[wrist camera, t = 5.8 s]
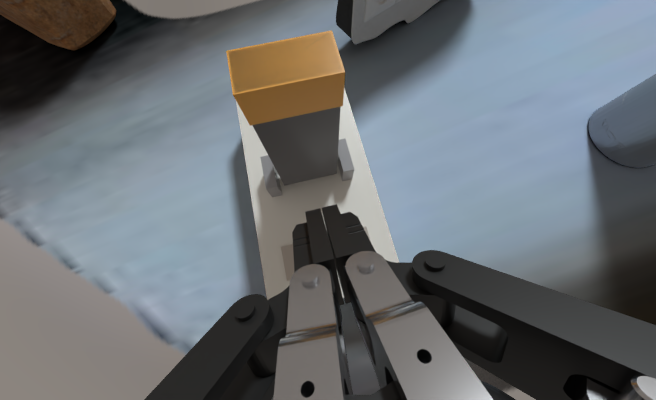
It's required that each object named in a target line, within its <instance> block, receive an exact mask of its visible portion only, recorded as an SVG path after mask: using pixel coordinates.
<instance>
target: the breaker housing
mask: <svg viewBox="0 0 656 400" xmlns="http://www.w3.org/2000/svg"><path fill="white" fill-rule="evenodd" d="M236 103H237V101H236ZM237 110H238V116H239V122H240V129H241V135H242V142H243V148H244V155H245V161H246V167H247V174H248V180H249V187H250V193H251V200H252V206H253V212H254V219H255V225H256V232H257V238H258V244H259V251H260V257H261V264H262V270H263V277H264V283H265V289H266V296H267V300H268V299H270V298H272V297H274V296H276V295H278V294H279V293H281V292H282V291H284V290H285V289H286V288H287V287H288V286H289V285H290V279H291V277H292V275H293V274H294V255H293V238H292V232H293V230H294V228H295V226H296V225H298V224H302V223H306V222H307V220H306V214H305V212H306V211H310V210H315V209H319V208H320V209H321V213H322V216H323V212H322V208H323V207H327V206H331V205H335V204H337V206H338V209H339V211H340V213H341V214H343V213H347V212H351V213H353V214H354V215H356V216H358V218H359V220H360V222H361V225H362V226H363V228H364V230H365V232H366V234H367V236H368V238H369V240H370V242H371V244H372V245H373V247H374V249H375V251H376V253H378V254H380V255H381V256H383V258H384V259H385V260H387V261H390V262H396V263H399V260H398V257H397V254H396V251H395V247H394V244H393V241H392V238H391V235H390V232H389V228H388V225H387V222H386V219H385V216H384V212H383V209H382V206H381V203H380V200H379V196H378V193H377V190H376V187H375V184H374V180H373V177H372V174H371V171H370V168H369V164H368V161H367V158H366V155H365V152H364V149H363V145H362V142H361V139H360V136H359V133H358V129H357V126H356V123H355V120H354V117H353V113H352V110H351V107H350V104H349V101H348V97H347V94H346V91H345V88H344V97H343V106H341V108H340V125H339V143H338V160H337V174H334V175H329V176H325V177H320V178H316V179H312V180H307V181H303V182H298V183H294V184H290V185H285V186H284V184H283V182H282V180H281V178H280V176H279V175H278V173H277V171H276V169H275V167H274V165H273V163H272V161H271V159H270V158H269V156H268V154H267V152H266V150H265V148H264V146H263V144H262V143H261V141H260V139H259V137H258V135H257V133H256V131H255V129H254V127H253V126H252V125H251V126H250V125H249V123H248V121H247V119H246V118H245V116H244V114H243V112H242V110H241V108H240V107H239V105H238V103H237ZM323 220H324V217H323ZM324 224H325V221H324ZM325 227H326V226H325ZM326 231H327V230H326ZM336 270H337V269H336ZM337 274H338V273H337ZM338 279H339V277H338ZM339 283H340V280H339ZM340 288H341V284H340ZM341 292H342V297H343V298H344V295H343V291H342V288H341Z"/></svg>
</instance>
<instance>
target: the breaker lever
mask: <svg viewBox="0 0 656 400" xmlns="http://www.w3.org/2000/svg"><path fill="white" fill-rule="evenodd" d="M226 52H227V58H228V65H229V71H230V78H231V85H232V91H233V96H234V97H235V99H236V101H237V103H238V105H239V107H240V108H241V110H242V112H243V114H244V116H245V118H246V119H247V121H248V123H249V125H250V126H251V125H252V126H253V127H254V129H255V131H256V133H257V135H258V137H259V139H260V141H261V143H262V144H263V146H264V148H265V150H266V152H267V154H268V156H269V158H270V159H271V161H272V163H273V165H274V167H275V169H276V171H277V173H278V175H279V176H280V178H281V180H282V182H283V184H284V186H285V185H290V184H294V183H298V182H303V181H307V180H312V179H316V178H320V177H325V176H329V175H334V174H337V160H338V143H339V125H340V108H341V106H343V97H344V83H345V70H344V67H343V64H342V60H341V57H340V54H339V51H338V48H337V45H336V42H335V39H334V36H333V32H332V31H327V32H321V33H316V34H311V35H306V36H301V37H296V38H290V39H285V40H280V41H275V42H270V43H265V44H259V45H254V46H249V47H244V48H239V49H234V50H228V51H226Z"/></svg>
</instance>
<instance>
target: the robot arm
mask: <svg viewBox="0 0 656 400" xmlns="http://www.w3.org/2000/svg"><path fill="white" fill-rule="evenodd" d="M589 133H590V136H591V138H592V140H593V142H594V144H595V145H596V146H597V148H598V149H599V150H600V151H601V152H602V153H603V154H604V155H605V156H607V157H608V158H610V159H611V160H613V161H615V162H617V163H619V164H622V165H625V166H628V167H635V168H643V167H648V166H652V165H655V164H656V74H655V75H653V76H651V77H650V78H648V79H647V80H645V81H643V82H642V83H640V84H638V85H637V86H635V87H633V88H632V89H630V90H628V91H627V92H625V93H623V94H622V95H620V96H619V97H617V98H615V99H614V100H612V101H610V102H609V103H607V104H606V105H604V106H602V107H601V108H599V109H598V110H596V111H595V112H594V113H593V114H592V116H591V118H590V121H589ZM322 212H323V216H322V213H321V209H320V208H319V209H315V210H310V211H306V212H305V214H306V220H307V222H306V223H302V224H298V225H296V226H295V228H294V230H293V232H292V238H293V255H294V274H293V275H292V277H291V279H290V285H289V286H288V287H287V288H286V289H285V290H284V291H282V292H281V293H279V294H278V295H276V296H274V297H272V298H270V299H268V300H267V299H266V298H265V297H264V296H262V295H258V294H254V295H248V296H246V297H243V298H241V299H240V300H238V301H237V302H235V303H234V304H233V305H232V306H231V307H230V308H229V309H228V310H227V312H226V313H225V314H224V315H223V316H222V317H221V318H220V319H219V320H218V321H217V322H216V323H215V324H214V326H213V327H212V328H211V329H210V330H209V331H208V332H207V333H206V334H205V335H204V336H203V337H202V338H201V339H200V341H199V342H198V343H197V344H196V345H195V346H194V347H193V348H192V349H191V350H190V351H189V352H188V353H187V355H186V356H185V357H184V358H183V359H182V360H181V361H180V362H179V363H178V364H177V365H176V366H175V368H174V369H173V370H172V371H171V372H170V373H169V374H168V375H167V376H166V377H165V378H164V379H163V380H162V381H161V383H160V384H159V385H158V386H157V387H156V388H155V389H154V390H153V391H152V392H151V393H150V394H149V395H148V396H147V398H146V399H145V400H271V399H272V397H273V395H274V398H273V400H515V399H514V398H512V397H511V396H509V395H508V394H506V393H504V392H503V391H501V390H499V389H497V388H496V387H494V386H492V385H490V384H488V383H485V382H483V381H480V380H479V379H478V377H477V376H476V375H475V373H474V372H473V370H472V369H471V368H470V366H469V365H468V363H467V362H466V361H465V359H464V358H466V359H468V360H469V361H471V362H473V363H475V364H476V365H478V366H480V367H481V368H483V369H485V370H487V371H488V372H490V373H492V374H493V375H495V376H497V377H499V378H500V379H502V380H504V381H505V382H507V383H509V384H511V385H512V386H514V387H516V388H517V389H519V390H521V391H522V392H524V393H526V394H528V395H530V396H531V397H533V398H534V399H536V400H656V325H653V324H651V323H648V322H645V321H642V320H639V319H636V318H633V317H630V316H627V315H624V314H621V313H619V312H616V311H613V310H610V309H607V308H604V307H601V306H598V305H595V304H592V303H590V302H587V301H584V300H581V299H578V298H575V297H572V296H569V295H566V294H563V293H560V292H558V291H555V290H552V289H549V288H546V287H543V286H540V285H537V284H534V283H531V282H528V281H526V280H523V279H520V278H517V277H514V276H511V275H508V274H505V273H502V272H499V271H497V270H494V269H491V268H488V267H485V266H482V265H479V264H476V263H473V262H470V261H467V260H465V259H462V258H459V257H456V256H453V255H450V254H447V253H444V252H441V251H435V250H428V251H423V252H421V253H419V254H417V255H416V256H415V257H414V259H413V261H412V263H396V262H390V261H387V260H385V259H384V258H383V256H381V255H380V254H378V253H376V251H375V249H374V247H373V245H372V244H371V242H370V240H369V238H368V236H367V234H366V232H365V230H364V228H363V226H362V225H361V222H360V220H359V218H358V216H356V215H354V214H353V213H351V212H347V213H343V214H341V213H340V211H339V209H338V206H337V204H335V205H331V206H327V207H323V208H322ZM323 217H324V220H323ZM324 221H325V224H324ZM325 226H326V227H325ZM326 230H327V231H326ZM336 269H337V270H336ZM337 273H338V274H337ZM338 277H339V279H338ZM339 280H340V283H339ZM340 284H341V288H342V291H343V295H344V299H345V303H349V302H351V303H352V306H353V310H354V314H355V319H356V323H357V325H358V328H359V331H360V333H361V336H362V338H363V341H364V344H365V346H366V349H367V351H368V354H369V357H370V359H371V362H372V365H373V367H374V370H375V373H376V376H377V379H378V383H379V386H380V390H379V391H377V392H376V393H374V394H372V395H353V391H352V386H351V380H350V374H349V367H348V360H347V354H346V347H345V340H344V334H343V327H342V314H341V310H340V306H339V305H342V304H344V301H343V297H342V292H341V288H340ZM463 357H464V358H463Z"/></svg>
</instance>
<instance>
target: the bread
mask: <svg viewBox="0 0 656 400" xmlns="http://www.w3.org/2000/svg"><path fill="white" fill-rule="evenodd" d="M0 15H2V16H3V17H5V18H7V19H8V20H10V21H12V22H14V23H15V24H17V25H19V26H21V27H23V28H24V29H26V30H28V31H30V32H31V33H33V34H35V35H36V36H38V37H40V38H41V39H43V40H45V41H46V42H48V43H51V44H53V45H56V46H59V47H62V48H66V49H69V50H74V51H75V50H77V49H80V48H82V47H84V46H86V45H87V44H89V43H90V42H92V41H93V40H94V39H96V38H97V37H98V36H99V35H101V34H102V33H103V32H104V31H105V30H106V29H107V28H108V26H109V25H110V24H111V23H112V21H113V20H114V18H115V16H116V9H115V8H114V6H113V5H112V4H111V2H110V1H109V0H0Z"/></svg>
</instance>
